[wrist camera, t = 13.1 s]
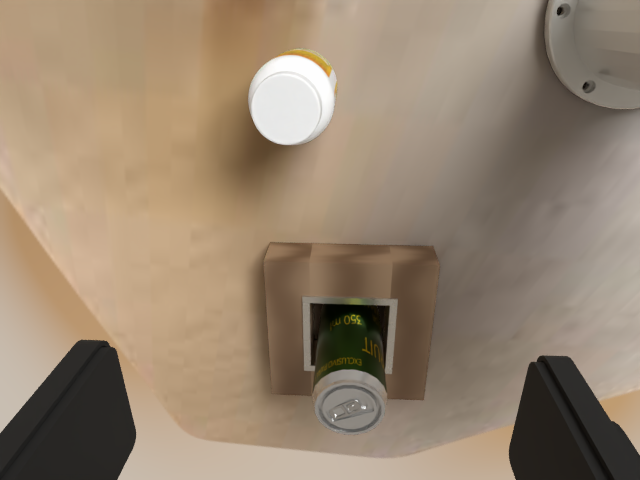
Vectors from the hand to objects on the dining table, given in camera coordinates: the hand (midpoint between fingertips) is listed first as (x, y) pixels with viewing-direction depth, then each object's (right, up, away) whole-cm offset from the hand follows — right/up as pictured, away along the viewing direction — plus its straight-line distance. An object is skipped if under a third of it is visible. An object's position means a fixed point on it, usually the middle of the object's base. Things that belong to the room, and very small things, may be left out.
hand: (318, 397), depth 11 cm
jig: (+3, -3, +33) cm, 33 cm away
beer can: (+3, -3, +33) cm, 33 cm away
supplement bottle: (-1, +15, +24) cm, 29 cm away
